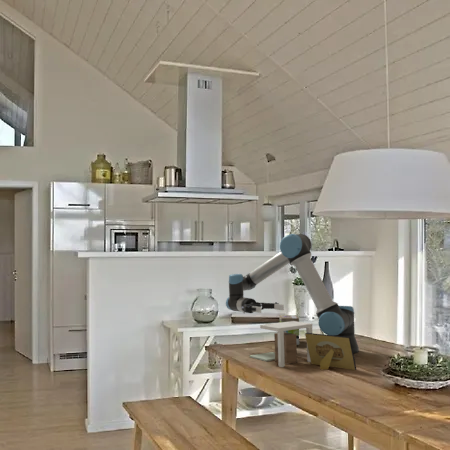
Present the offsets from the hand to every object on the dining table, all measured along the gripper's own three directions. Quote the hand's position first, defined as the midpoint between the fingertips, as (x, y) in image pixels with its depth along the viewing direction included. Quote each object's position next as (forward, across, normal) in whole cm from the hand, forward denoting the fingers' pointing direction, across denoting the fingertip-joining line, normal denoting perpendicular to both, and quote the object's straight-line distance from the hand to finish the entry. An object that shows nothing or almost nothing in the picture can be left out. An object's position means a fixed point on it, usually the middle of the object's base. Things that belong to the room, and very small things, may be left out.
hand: (272, 308), depth 297 cm
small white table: (+11, 0, -24) cm, 26 cm away
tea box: (-29, -33, -24) cm, 50 cm away
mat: (-3, 0, -24) cm, 24 cm away
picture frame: (+33, -6, -24) cm, 42 cm away
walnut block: (+10, 0, -24) cm, 26 cm away
